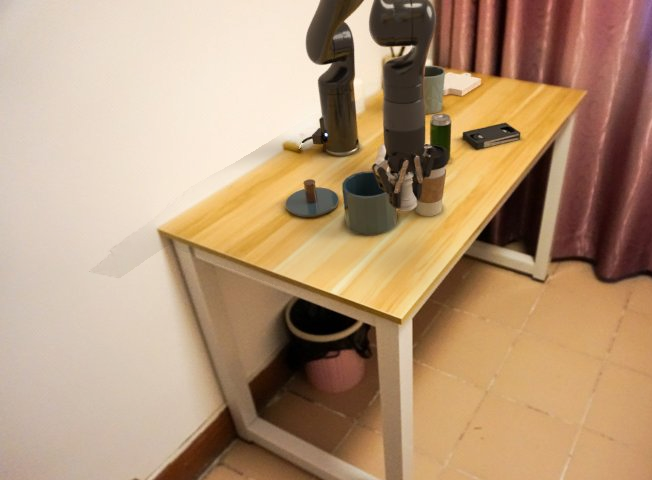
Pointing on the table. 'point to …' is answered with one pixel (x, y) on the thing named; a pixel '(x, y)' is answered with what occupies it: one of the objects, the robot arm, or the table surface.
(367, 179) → the canister
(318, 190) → the lid
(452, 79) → the mounting plate
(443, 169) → the coffee cup
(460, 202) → the table surface
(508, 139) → the vhs tape
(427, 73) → the grey green tumbler
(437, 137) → the beer can
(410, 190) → the rook chess piece
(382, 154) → the white figurine
